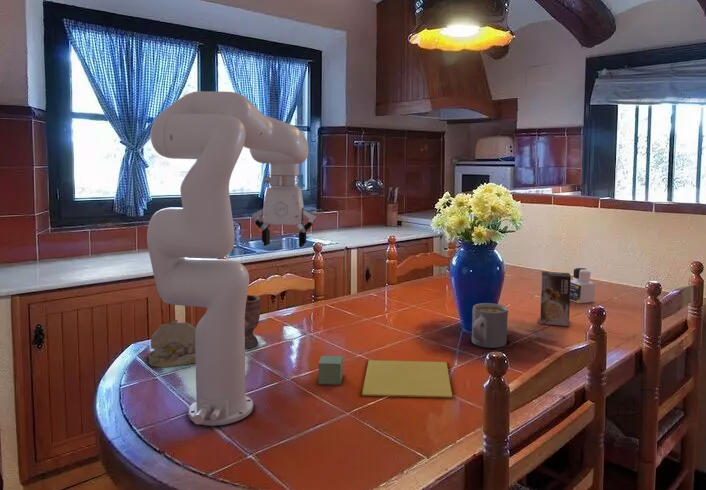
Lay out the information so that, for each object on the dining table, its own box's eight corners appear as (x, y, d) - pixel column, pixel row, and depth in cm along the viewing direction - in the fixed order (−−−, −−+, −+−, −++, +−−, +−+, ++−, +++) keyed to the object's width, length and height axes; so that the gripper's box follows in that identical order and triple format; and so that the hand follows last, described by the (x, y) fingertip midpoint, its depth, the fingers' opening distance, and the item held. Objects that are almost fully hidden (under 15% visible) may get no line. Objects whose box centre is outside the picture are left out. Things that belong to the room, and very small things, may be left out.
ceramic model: (141, 369, 135) (140, 329, 134) (150, 352, 145) (149, 315, 144) (203, 364, 138) (202, 325, 137) (207, 348, 149) (206, 312, 148)
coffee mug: (486, 333, 167) (487, 301, 166) (513, 342, 160) (515, 308, 159) (456, 343, 158) (457, 309, 157) (483, 353, 151) (484, 317, 150)
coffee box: (568, 320, 182) (571, 272, 180) (569, 326, 176) (571, 276, 174) (539, 318, 184) (541, 270, 182) (539, 324, 178) (541, 274, 176)
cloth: (452, 397, 123) (452, 396, 123) (361, 395, 123) (361, 393, 123) (446, 363, 143) (446, 361, 143) (368, 361, 143) (368, 360, 143)
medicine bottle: (566, 298, 209) (568, 267, 208) (581, 297, 212) (583, 266, 211) (579, 303, 203) (581, 271, 201) (594, 302, 206) (596, 270, 204)
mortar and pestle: (216, 341, 155) (215, 271, 152) (244, 334, 161) (244, 266, 159) (238, 352, 147) (237, 278, 144) (266, 345, 153) (266, 273, 151)
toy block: (340, 384, 129) (340, 363, 128) (318, 384, 129) (318, 363, 128) (342, 375, 134) (342, 355, 133) (321, 375, 134) (322, 355, 133)
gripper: (247, 182, 145) (247, 246, 147) (312, 183, 144) (312, 249, 146) (257, 180, 153) (257, 242, 154) (319, 182, 151) (319, 244, 153)
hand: (284, 245), depth 150 cm, fingers open, 9 cm apart
